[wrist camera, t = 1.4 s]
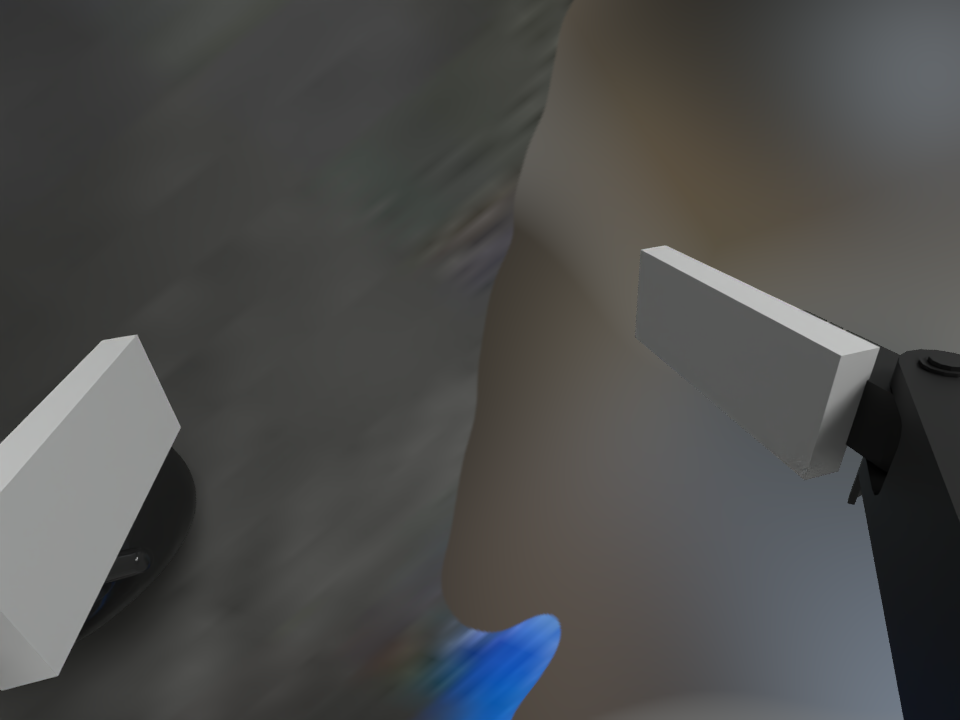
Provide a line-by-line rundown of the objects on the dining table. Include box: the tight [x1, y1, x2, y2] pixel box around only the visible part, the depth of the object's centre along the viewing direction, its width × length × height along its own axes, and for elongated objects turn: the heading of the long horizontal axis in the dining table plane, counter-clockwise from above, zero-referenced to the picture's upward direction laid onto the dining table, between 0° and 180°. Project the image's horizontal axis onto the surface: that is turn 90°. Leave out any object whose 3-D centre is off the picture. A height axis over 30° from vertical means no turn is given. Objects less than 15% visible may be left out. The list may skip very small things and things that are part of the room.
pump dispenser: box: [74, 447, 196, 644], centre depth 26 cm, size 10×10×15 cm
